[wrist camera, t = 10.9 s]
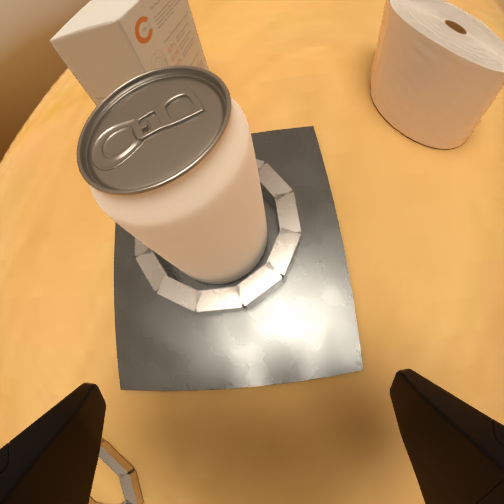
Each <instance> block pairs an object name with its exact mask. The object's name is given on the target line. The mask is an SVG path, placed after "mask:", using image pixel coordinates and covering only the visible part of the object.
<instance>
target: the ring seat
mask: <svg viewBox="0 0 504 504" xmlns="http://www.w3.org/2000/svg"><path fill="white" fill-rule="evenodd" d="M251 137H252V142H253V147H254V152H255V157H256V163H257V168H258V174H259V180H260V185H261V191H262V197H263V203H264V209H265V216H266V222H267V231H268V237H267V244H266V248H265V251H264V254H263V256H262V258H261V259H260V261H259V262H258V264H257V265H256V266H255V267H254V268H253V269H252V270H251V271H250V272H249V273H248V274H246V275H245V276H243V277H242V278H240V279H238V280H236V281H233V282H230V283H226V284H207V283H203V282H200V281H197V280H195V279H193V278H192V277H190V276H188V275H187V274H185V273H184V272H182V271H181V270H179V269H178V268H177V267H175V266H174V265H172V264H171V263H169V262H168V261H167V260H165V259H164V258H162V257H161V256H160V255H158V254H157V253H156V252H154V251H153V250H151V249H150V248H149V247H147V246H146V245H145V244H143V243H142V242H141V241H139V240H138V239H137V238H135V237H134V236H133V235H131V234H130V233H129V232H127V231H126V230H125V229H124V228H122V227H121V226H120V225H119V224H117V223H116V227H115V250H114V306H115V330H116V345H117V358H118V368H119V378H120V386H121V390H144V391H188V390H214V389H231V388H244V387H255V386H265V385H274V384H282V383H290V382H298V381H305V380H311V379H317V378H324V377H329V376H335V375H340V374H346V373H351V372H356V371H361V370H363V365H362V357H361V349H360V341H359V334H358V327H357V320H356V313H355V307H354V301H353V295H352V289H351V283H350V277H349V272H348V267H347V261H346V256H345V251H344V246H343V242H342V237H341V232H340V228H339V223H338V219H337V214H336V210H335V206H334V201H333V197H332V193H331V189H330V185H329V181H328V177H327V174H326V170H325V166H324V162H323V159H322V155H321V151H320V148H319V144H318V141H317V137H316V134H315V131H314V127H313V126H310V127H300V128H291V129H282V130H274V131H267V132H260V133H253V134H251Z"/></svg>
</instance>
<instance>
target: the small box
mask: <svg viewBox="0 0 504 504" xmlns="http://www.w3.org/2000/svg"><path fill="white" fill-rule="evenodd" d="M50 43H51V44H52V46H53V47H54V48H55V50H56V51H57V52H58V54H59V55H60V56H61V58H62V60H63V61H64V62H65V63H66V65H67V66H68V68H69V69H70V71H71V72H72V73H73V75H74V76H75V77H76V79H77V80H78V81H79V83H80V84H81V86H82V87H83V88H84V90H85V91H86V92H87V94H88V95H89V96H90V98H91V99H92V100H93V102H94V103H95V104H96V106H98V105H99V104H100V103H101V102H102V101H103V100H104V99H105V98H106V97H107V96H108V95H109V94H110V93H111V92H112V91H114V90H115V89H116V88H118V87H119V86H120V85H122V84H123V83H125V82H127V81H128V80H130V79H132V78H134V77H136V76H138V75H140V74H143V73H145V72H148V71H151V70H154V69H157V68H162V67H167V66H176V65H187V66H195V67H199V68H203V69H205V70H208V71H209V69H208V66H207V63H206V60H205V56H204V53H203V50H202V47H201V43H200V40H199V37H198V33H197V30H196V26H195V23H194V20H193V17H192V13H191V10H190V7H189V4H188V0H91V1H90V2H89V3H88V4H87V5H85V6H84V7H83V8H82V9H81V10H80V11H79V12H78V13H77V14H76V15H75V16H74V17H73V18H72V19H70V20H69V21H68V23H67V24H65V25H64V26H63V28H62V29H61V30H60V31H59V32H58V33H57V34H56V35H55V36H54V37H53V38H52V39H51V40H50Z"/></svg>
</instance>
